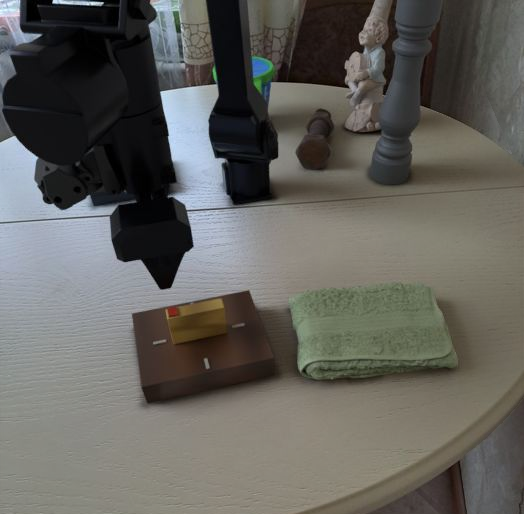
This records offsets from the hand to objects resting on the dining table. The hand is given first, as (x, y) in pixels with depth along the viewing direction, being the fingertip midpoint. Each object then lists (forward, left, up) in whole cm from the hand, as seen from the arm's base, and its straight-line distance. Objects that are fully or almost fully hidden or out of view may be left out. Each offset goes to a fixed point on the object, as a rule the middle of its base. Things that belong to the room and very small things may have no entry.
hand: (160, 259), depth 51 cm
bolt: (-30, -37, -11) cm, 49 cm away
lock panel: (-2, +4, -11) cm, 12 cm away
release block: (+3, -35, -11) cm, 37 cm away
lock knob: (-2, +4, -8) cm, 9 cm away
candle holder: (-38, -25, -11) cm, 47 cm away
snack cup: (-20, -49, -11) cm, 54 cm away
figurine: (-41, -42, -11) cm, 60 cm away
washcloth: (-21, +7, -11) cm, 25 cm away
